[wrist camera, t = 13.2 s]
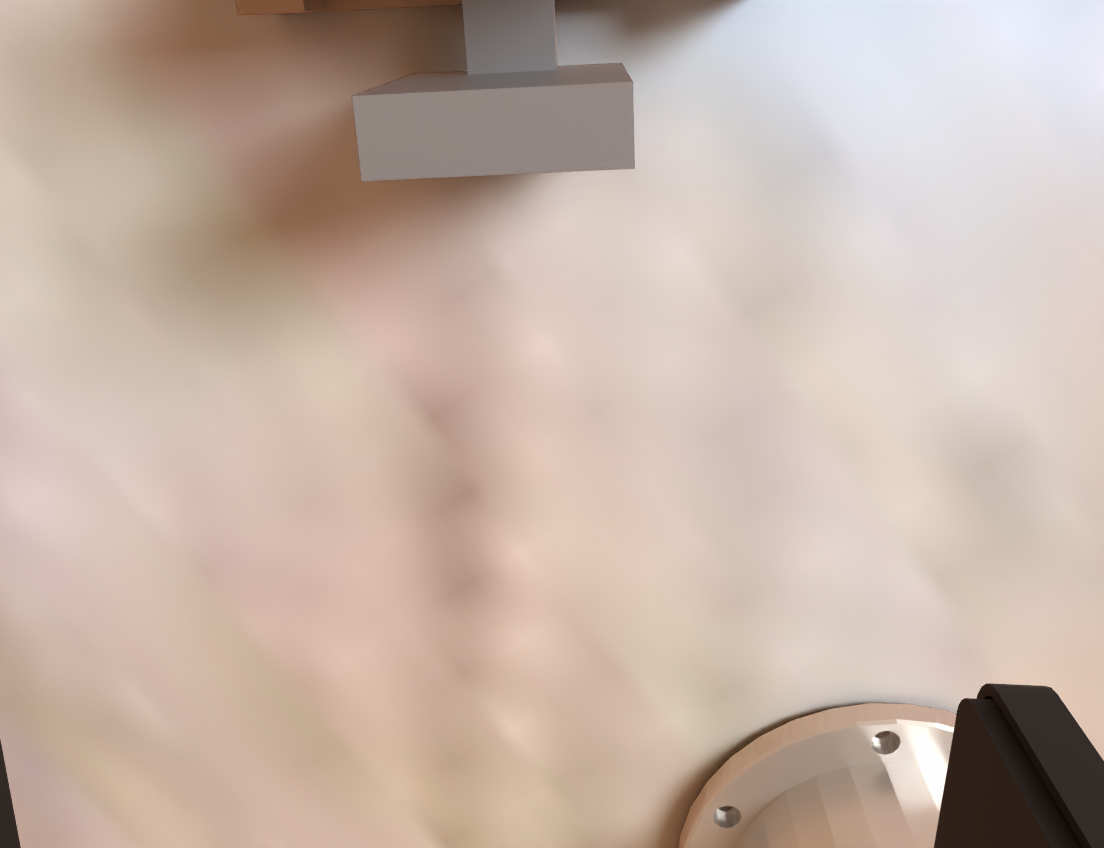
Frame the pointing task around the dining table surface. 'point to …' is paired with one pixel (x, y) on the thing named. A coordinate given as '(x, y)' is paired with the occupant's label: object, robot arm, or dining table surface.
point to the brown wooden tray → (327, 5)
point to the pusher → (499, 106)
